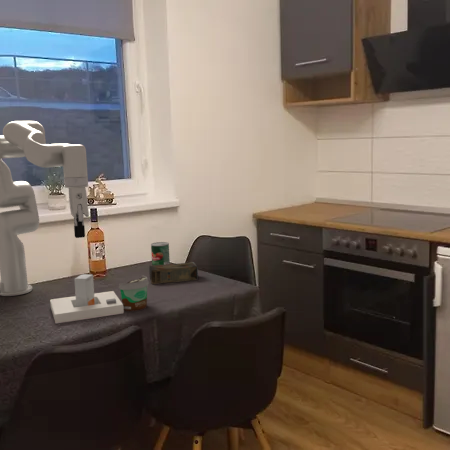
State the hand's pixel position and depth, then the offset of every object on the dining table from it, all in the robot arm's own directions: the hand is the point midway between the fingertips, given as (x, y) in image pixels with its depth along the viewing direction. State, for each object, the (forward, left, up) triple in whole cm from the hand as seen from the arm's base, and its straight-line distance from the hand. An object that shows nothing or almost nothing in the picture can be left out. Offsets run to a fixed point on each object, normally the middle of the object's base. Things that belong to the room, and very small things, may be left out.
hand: (79, 237), depth 184 cm
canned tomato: (+39, +46, -26) cm, 65 cm away
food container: (+17, -6, -26) cm, 32 cm away
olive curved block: (+39, +24, -26) cm, 52 cm away
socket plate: (0, 0, -26) cm, 26 cm away
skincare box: (0, 0, -26) cm, 26 cm away
